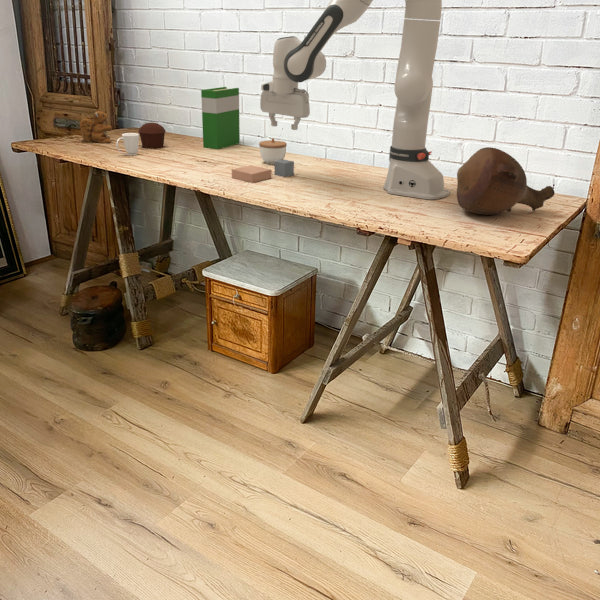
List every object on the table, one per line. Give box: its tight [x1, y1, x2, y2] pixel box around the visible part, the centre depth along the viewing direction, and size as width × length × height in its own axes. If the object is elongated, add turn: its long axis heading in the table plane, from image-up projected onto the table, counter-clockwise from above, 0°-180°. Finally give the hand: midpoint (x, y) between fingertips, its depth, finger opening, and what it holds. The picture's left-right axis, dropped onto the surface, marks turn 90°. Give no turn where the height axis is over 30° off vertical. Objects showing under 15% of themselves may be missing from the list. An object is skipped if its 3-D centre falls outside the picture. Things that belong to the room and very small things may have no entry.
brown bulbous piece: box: [456, 147, 555, 216], centre depth 184 cm, size 20×20×30 cm
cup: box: [115, 132, 140, 156], centre depth 252 cm, size 7×10×8 cm
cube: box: [274, 158, 295, 178], centre depth 227 cm, size 5×5×5 cm
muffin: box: [137, 122, 167, 150], centre depth 268 cm, size 12×11×10 cm
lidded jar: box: [258, 137, 287, 165], centre depth 245 cm, size 11×11×9 cm
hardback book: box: [200, 86, 241, 150], centre depth 272 cm, size 18×7×24 cm, turn 152°
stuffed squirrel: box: [79, 110, 113, 144], centre depth 276 cm, size 10×14×13 cm
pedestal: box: [231, 165, 272, 184], centre depth 221 cm, size 10×10×3 cm
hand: (284, 127), depth 221 cm, fingers open, 8 cm apart
